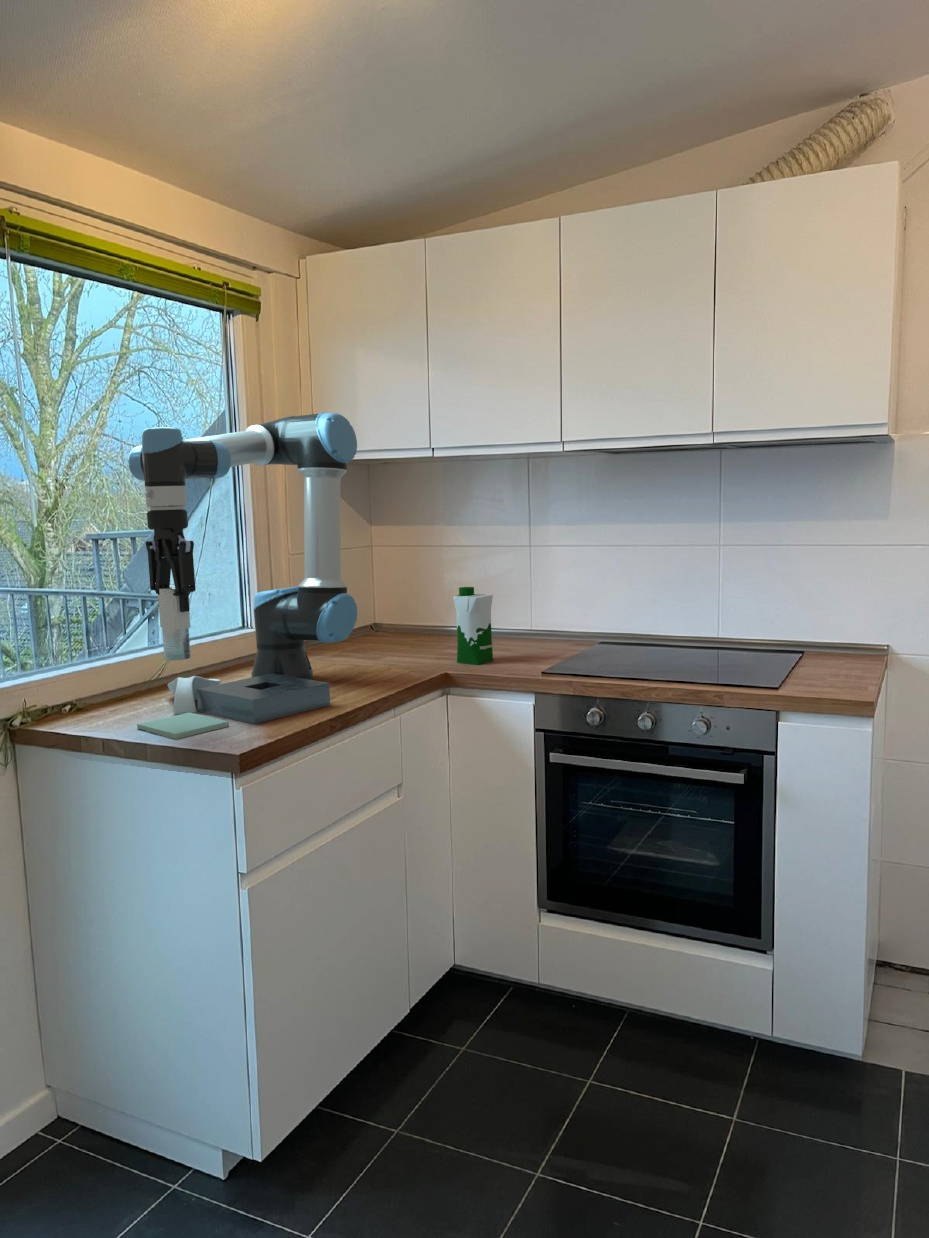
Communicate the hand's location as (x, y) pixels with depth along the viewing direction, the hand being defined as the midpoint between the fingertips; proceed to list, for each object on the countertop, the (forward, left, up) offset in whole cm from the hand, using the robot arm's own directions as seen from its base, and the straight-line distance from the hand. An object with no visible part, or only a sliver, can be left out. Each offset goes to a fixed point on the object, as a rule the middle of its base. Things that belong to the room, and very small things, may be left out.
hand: (175, 627), depth 183 cm
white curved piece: (-19, +15, -21) cm, 32 cm away
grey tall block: (0, 0, -6) cm, 6 cm away
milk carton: (+3, +87, -21) cm, 89 cm away
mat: (0, 0, -20) cm, 20 cm away
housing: (0, +20, -20) cm, 29 cm away
